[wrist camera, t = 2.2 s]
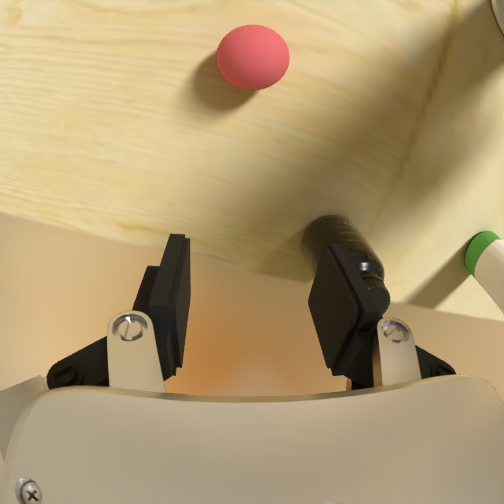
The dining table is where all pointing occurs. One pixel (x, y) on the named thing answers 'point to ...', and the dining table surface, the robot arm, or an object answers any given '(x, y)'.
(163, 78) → the dining table surface
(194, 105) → the dining table surface
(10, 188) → the dining table surface
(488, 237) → the wine bottle
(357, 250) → the supplement bottle
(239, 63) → the ball
